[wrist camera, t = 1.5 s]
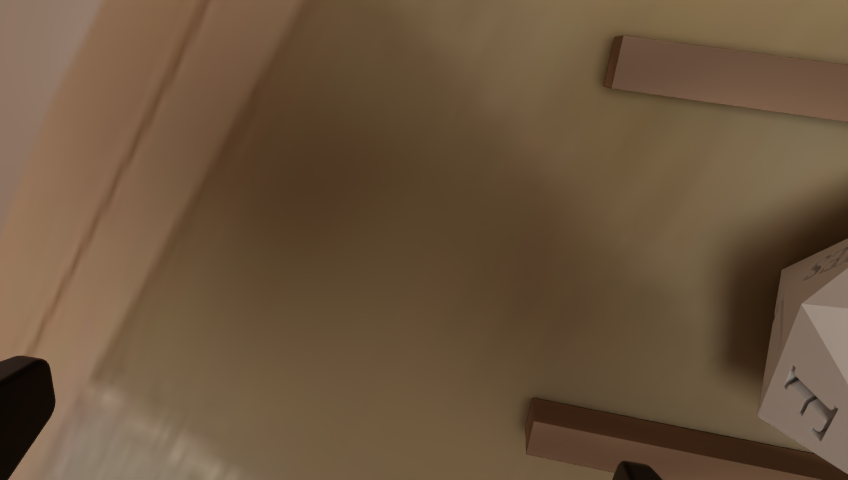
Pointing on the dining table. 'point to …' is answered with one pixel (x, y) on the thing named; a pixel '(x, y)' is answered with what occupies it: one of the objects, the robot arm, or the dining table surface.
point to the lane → (659, 443)
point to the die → (811, 356)
